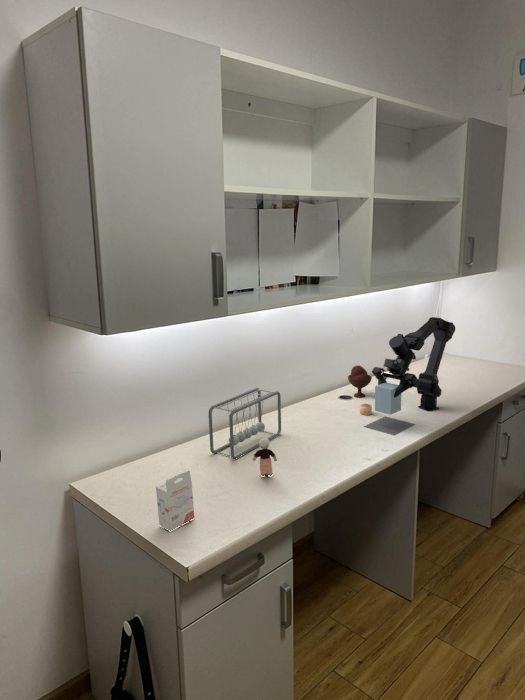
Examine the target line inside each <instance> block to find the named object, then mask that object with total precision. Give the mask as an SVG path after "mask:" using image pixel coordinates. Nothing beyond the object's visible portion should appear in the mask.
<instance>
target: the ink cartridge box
mask: <svg viewBox="0 0 525 700" xmlns="http://www.w3.org/2000/svg"><path fill="white" fill-rule="evenodd" d="M191 475H192V474H191V470H189V469H188V470H186V471H184V472H182V473H180V474H177V475H175V476H173V477H171V478H169V479H166V481H165V482H164V483H162V484H160V485H157V486H155V490H156V491H155V492H156V502H157V503H156V504H157V513H158V514H157V515H158V525H161V526H162V527H164V528H166V529H168V530H170V531H171V530H173V529H175V528H176V527H178V526H181V525H182V524H184V523H186V522H188V521H190V520H191V519H193V518H194V519H195V511H194V510H195V508H194V496H193V494H194V492H193V481H192V476H191Z"/></svg>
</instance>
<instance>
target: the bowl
mask: <svg viewBox="0 0 525 700" xmlns="http://www.w3.org/2000/svg"><path fill="white" fill-rule="evenodd" d="M372 407H373V406H372V404H369V403H362V404H360V405H359V414H360V415H361V416H367V417H368V416H371V415H372Z"/></svg>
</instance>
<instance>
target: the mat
mask: <svg viewBox="0 0 525 700" xmlns="http://www.w3.org/2000/svg"><path fill="white" fill-rule="evenodd" d="M415 425H416V423H412V422H409V421H406V420H401V419H397V418H394V417H390V416H383V417H381V418H378V419H376V420H375V421H372V422H370V423H368V424H366V425H363V428H365V429H370V430H374V431H377V432H381V433H385V434H388V435H391V436H396V435H398V434H400V433H402V432H404V431H406V430H408V429H410V428H411V427H413V426H415Z"/></svg>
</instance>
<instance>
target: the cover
mask: <svg viewBox="0 0 525 700" xmlns="http://www.w3.org/2000/svg"><path fill="white" fill-rule="evenodd" d="M398 386H399V384H396V383H390V382H385V383H383V384H380V385H378V384H377V385H375V386H374V411H375V412H379V413H381V414H386V415H390V416H392V415H393V414H395V413H398V412H400V411H401V410H402V393H401V394H400V395H398V396H397V397H394V394H395V391H396V390H397V388H398Z"/></svg>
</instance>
